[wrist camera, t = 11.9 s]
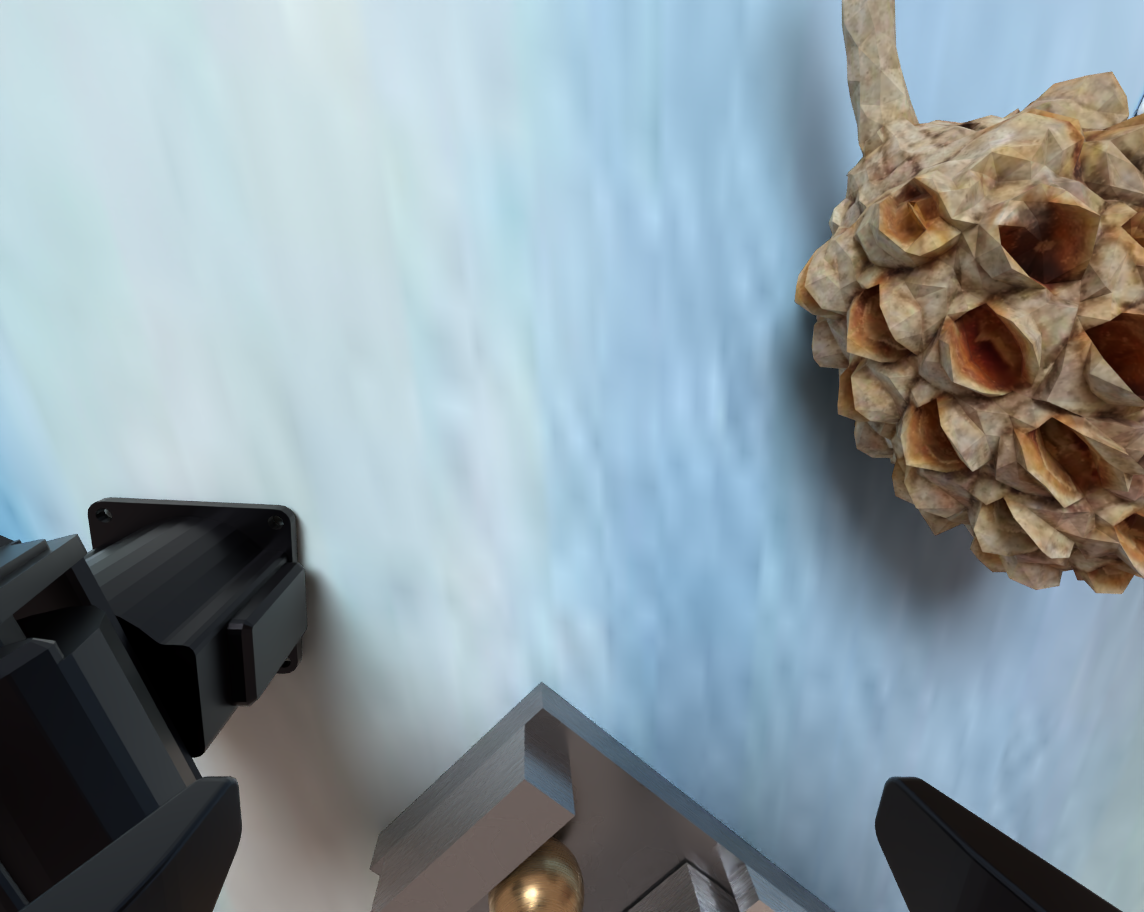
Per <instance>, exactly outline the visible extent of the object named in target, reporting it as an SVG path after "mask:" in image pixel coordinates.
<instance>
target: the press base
mask: <svg viewBox="0 0 1144 912" xmlns="http://www.w3.org/2000/svg"><path fill="white" fill-rule="evenodd" d="M686 862H687V863H688V864H690V865H691V866H692V867H694V868H695V869H696V870H698V871H699V872H700V873H702V874H703V875H704V876H706V877H707V878H709V879H710V880H711V881H713V882H714V883H715V884H717V885H718V886H719V887H721V888H722V889H723V890H725V891H726V892H727V893H729V894H730V895H731V896H733V897H734V898H735V899H736V902H737V905H738V907H739V910H740V912H834V911H833V910H832V909H830V908H829V907H828V906H827V905H825V904H824V903H823V902H821V901H820V900H819V899H818V898H816V897H815V896H814V895H813V894H811V893H810V892H809V891H807V890H806V889H805V888H804V887H802V886H801V885H800V884H798V883H797V882H796V881H795V880H793V879H792V878H791V877H790V876H788V875H787V874H786V873H784V872H783V871H782V870H781V869H779V868H778V867H777V866H776V865H774V864H773V863H772V862H770V861H769V860H768V859H767V858H765V857H764V856H763V855H762V854H760V853H759V852H758V851H756V850H755V849H754V848H753V847H751V846H750V845H749V844H748V843H746V842H745V841H744V840H742V839H741V838H740V837H739V836H737V835H736V834H735V833H734V832H732V831H731V830H730V829H728V828H727V827H726V826H725V825H723V824H722V823H721V822H720V821H718V820H717V819H716V818H714V817H713V816H712V815H711V814H709V813H708V812H707V811H705V810H704V809H703V808H702V807H700V806H699V805H698V804H697V803H695V802H694V801H693V800H691V799H690V798H689V797H688V796H686V795H685V794H684V793H683V792H681V791H680V790H679V789H677V788H676V787H675V786H674V785H672V784H671V783H670V782H669V781H667V780H666V779H665V778H663V777H662V776H661V775H660V774H658V773H657V772H656V771H655V770H653V769H652V768H651V767H649V766H648V765H647V764H646V763H644V762H643V761H642V760H641V759H639V758H638V757H637V756H635V755H634V754H633V753H632V752H630V751H629V750H628V749H627V748H625V747H624V746H623V745H621V744H620V743H619V742H618V741H616V740H615V739H614V738H612V737H611V736H610V735H609V734H607V733H606V732H605V731H604V730H602V729H601V728H600V727H598V726H597V725H596V724H595V723H593V722H592V721H591V720H590V719H588V718H587V717H586V716H584V715H583V714H582V713H581V712H579V711H578V710H577V709H576V708H574V707H573V706H572V705H570V704H569V703H568V702H567V701H565V700H564V699H563V698H562V697H560V696H559V695H558V694H556V693H555V692H554V691H553V690H551V689H550V688H549V687H548V686H546V685H545V684H544V683H542V682H541V683H540V684H539V685H538V686H537V687H536V688H535V689H534V690H533V691H531V692H530V693H529V694H528V695H527V696H526V697H525V698H524V699H523V700H522V701H521V702H520V703H519V704H518V705H517V706H515V707H514V708H513V709H512V710H511V711H510V712H509V713H508V714H507V715H506V716H505V717H504V718H503V719H502V720H501V721H500V722H498V723H497V724H496V725H495V726H494V727H493V728H492V729H491V730H490V731H489V732H488V733H487V734H486V735H485V736H484V737H483V738H481V739H480V740H479V741H478V742H477V743H476V744H475V745H474V746H473V747H472V748H471V749H470V750H469V751H468V752H467V753H466V754H464V755H463V756H462V757H461V758H460V759H459V760H458V761H457V762H456V763H455V764H454V765H453V766H452V767H451V768H450V769H449V770H447V771H446V772H445V773H444V774H443V775H442V776H441V777H440V778H439V779H438V780H437V781H436V782H435V783H434V784H433V785H432V786H430V787H429V788H428V789H427V790H426V791H425V792H424V793H423V794H422V795H421V796H420V797H419V798H418V799H417V800H416V801H415V802H413V803H412V804H411V805H410V806H409V807H408V808H407V809H406V810H405V811H404V812H403V813H402V814H401V815H400V816H399V817H398V818H396V819H395V820H394V821H393V822H392V823H391V824H390V825H389V826H388V827H387V828H386V829H385V830H384V831H383V832H382V833H381V834H379V837H378V841H377V844H376V848H375V851H374V855H373V858H372V862H371V866H370V870H371V871H373V872H375V873H376V874H378V875H380V879H379V883H378V887H377V890H376V894H375V898H374V902H373V906H372V910H371V912H628V911H629V910H630V909H631V908H632V907H634V906H635V905H636V904H637V903H638V902H640V901H641V900H642V899H643V898H644V897H646V896H647V895H648V894H649V893H650V892H651V891H653V890H654V889H655V888H656V887H657V886H659V885H660V884H661V883H662V882H663V881H665V880H666V879H667V878H668V877H669V876H670V875H672V874H673V873H674V872H675V871H676V870H678V869H679V868H680V867H681V866H682V865H684V864H685V863H686Z"/></svg>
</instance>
